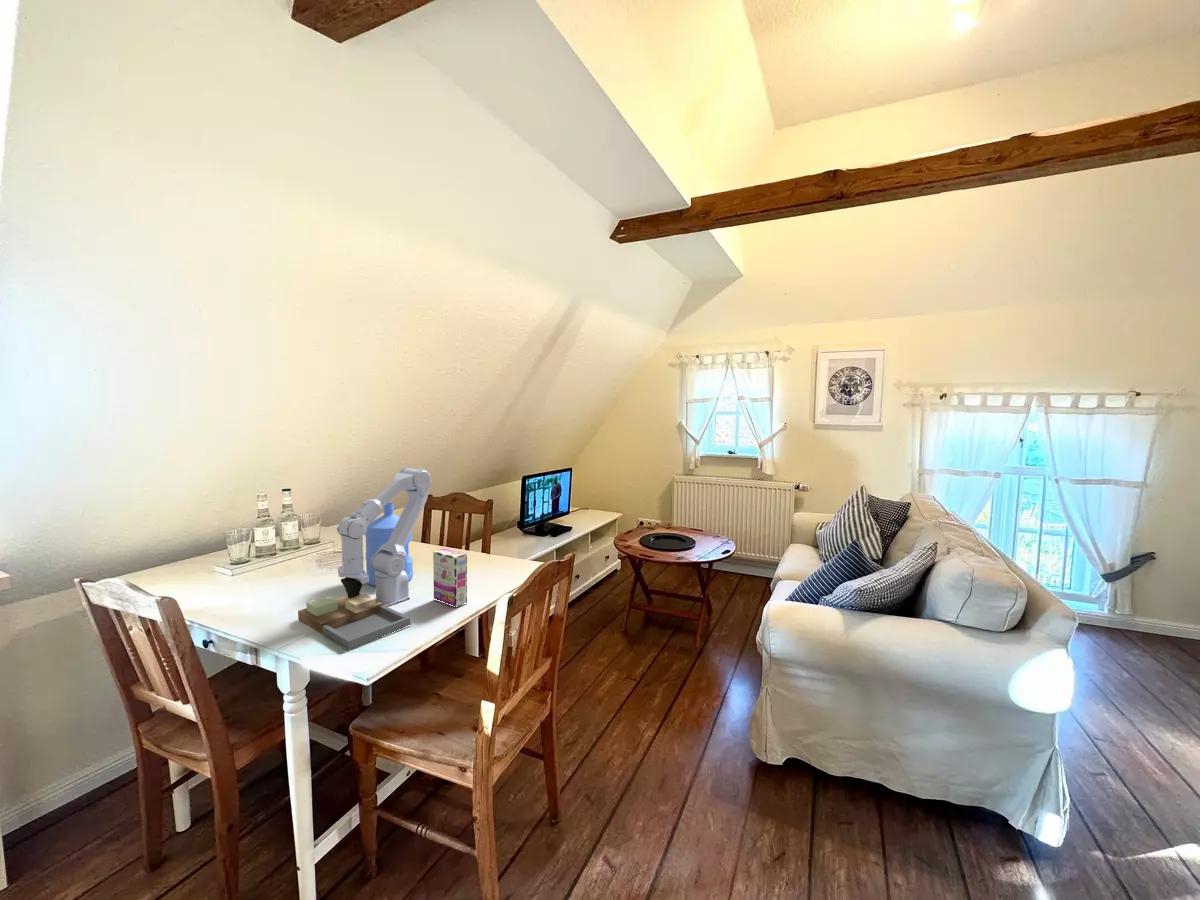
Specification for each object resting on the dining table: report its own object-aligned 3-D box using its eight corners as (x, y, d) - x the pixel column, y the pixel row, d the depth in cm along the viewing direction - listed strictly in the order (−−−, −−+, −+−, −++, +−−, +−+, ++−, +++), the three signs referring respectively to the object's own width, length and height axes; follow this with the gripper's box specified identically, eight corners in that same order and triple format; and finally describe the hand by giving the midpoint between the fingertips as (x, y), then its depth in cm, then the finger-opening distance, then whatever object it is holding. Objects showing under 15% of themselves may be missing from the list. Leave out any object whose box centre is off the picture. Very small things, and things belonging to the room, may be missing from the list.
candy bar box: (468, 603, 158) (467, 553, 157) (455, 608, 154) (455, 557, 153) (445, 595, 165) (444, 547, 163) (432, 600, 160) (432, 551, 159)
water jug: (380, 591, 167) (379, 510, 164) (357, 580, 176) (355, 503, 174) (421, 579, 179) (420, 503, 177) (398, 569, 189) (397, 497, 186)
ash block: (365, 601, 151) (364, 593, 150) (375, 606, 147) (375, 598, 147) (345, 607, 146) (345, 599, 146) (355, 613, 142) (355, 605, 142)
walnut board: (358, 601, 158) (358, 592, 158) (382, 612, 150) (382, 603, 150) (298, 620, 144) (298, 610, 143) (321, 634, 135) (321, 623, 135)
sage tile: (327, 604, 148) (327, 596, 148) (337, 609, 145) (337, 601, 144) (306, 610, 143) (306, 602, 143) (316, 616, 140) (316, 607, 140)
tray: (383, 613, 150) (383, 605, 149) (410, 625, 142) (410, 617, 141) (322, 634, 135) (322, 626, 135) (348, 650, 127) (348, 641, 127)
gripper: (327, 555, 149) (328, 598, 150) (351, 565, 140) (352, 611, 141) (350, 550, 154) (351, 592, 156) (375, 559, 146) (376, 603, 147)
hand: (353, 600), depth 149 cm, fingers closed
